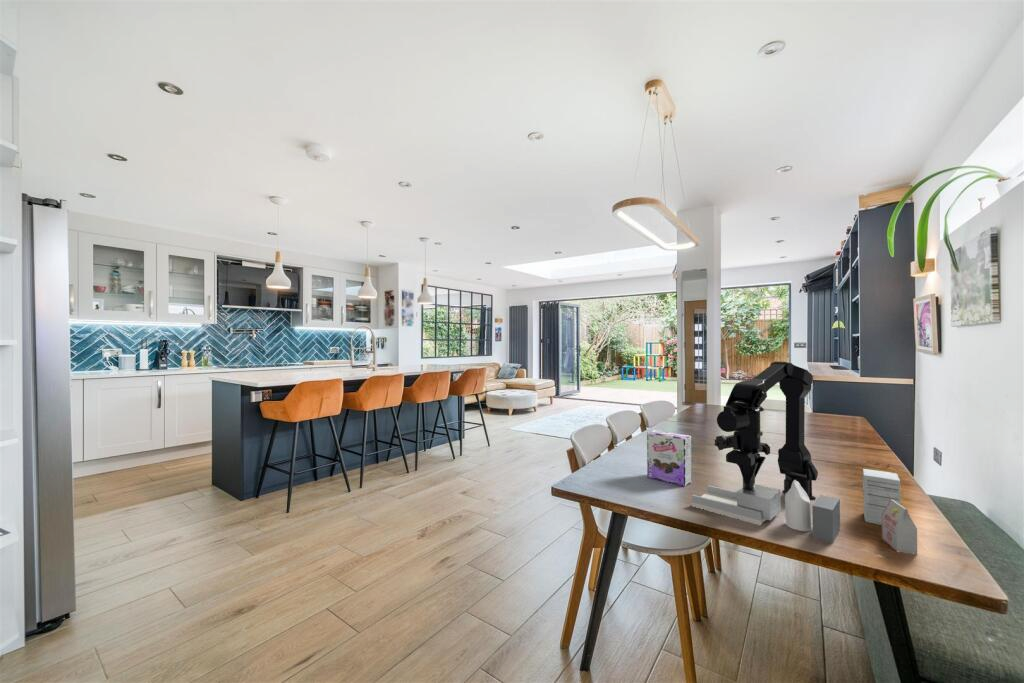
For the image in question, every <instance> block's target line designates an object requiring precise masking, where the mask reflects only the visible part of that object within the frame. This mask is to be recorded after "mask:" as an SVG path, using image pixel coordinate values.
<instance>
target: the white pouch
mask: <svg viewBox="0 0 1024 683" xmlns="http://www.w3.org/2000/svg"><path fill="white" fill-rule="evenodd" d="M811 511H812V508H811V499H809V497H808V495H807V493H806V492H805V491H804V489H803V488H802V487H801V485H800V484H799V482H798V481H796V480H794V481H793V482H792V485H791V488H790V489H789V491H788V492H787V493H786V494H785V495H784V513H785V514H784V515H785V525H786V526H787V527H788V528H790V529H792V530H795V531H800V532H809V531H811V530H812V512H811Z"/></svg>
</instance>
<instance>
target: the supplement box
mask: <svg viewBox="0 0 1024 683" xmlns="http://www.w3.org/2000/svg"><path fill="white" fill-rule="evenodd" d="M901 493H902V492H901V479H900V477H899V475H898V473H895V472H891V471H883V470H875V469H868V468H862V499H863V500H862V502H863V508H862V509H863V515H864V516H863V517H864V522H866V523H871V524H875V525H881V526H882V513H883V512H884V510H885V508H886V507H887V505H888V503H889V499H891V500H894V501H895V502H897V503H898V504H900V505H901V503H902V501H901V500H902V499H901V498H902V496H901ZM901 506H902V505H901Z"/></svg>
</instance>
